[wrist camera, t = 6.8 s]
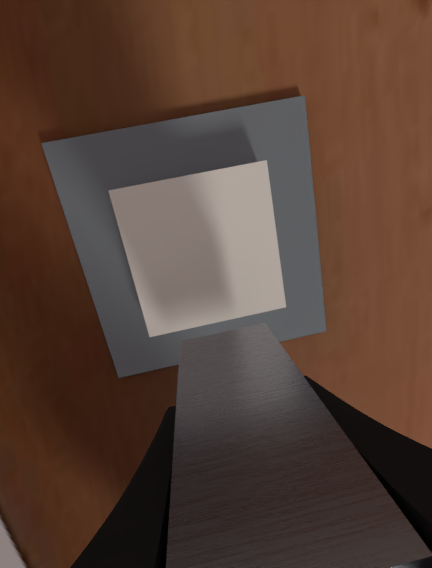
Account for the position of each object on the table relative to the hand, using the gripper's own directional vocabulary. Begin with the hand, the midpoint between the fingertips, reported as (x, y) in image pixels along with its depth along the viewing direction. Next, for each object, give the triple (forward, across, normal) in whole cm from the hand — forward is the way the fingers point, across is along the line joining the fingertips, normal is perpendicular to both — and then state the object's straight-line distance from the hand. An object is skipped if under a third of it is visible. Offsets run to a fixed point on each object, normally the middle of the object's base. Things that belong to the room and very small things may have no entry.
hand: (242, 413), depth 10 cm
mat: (+8, 0, -5) cm, 10 cm away
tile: (+7, 0, -1) cm, 7 cm away
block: (+3, 0, 0) cm, 3 cm away
